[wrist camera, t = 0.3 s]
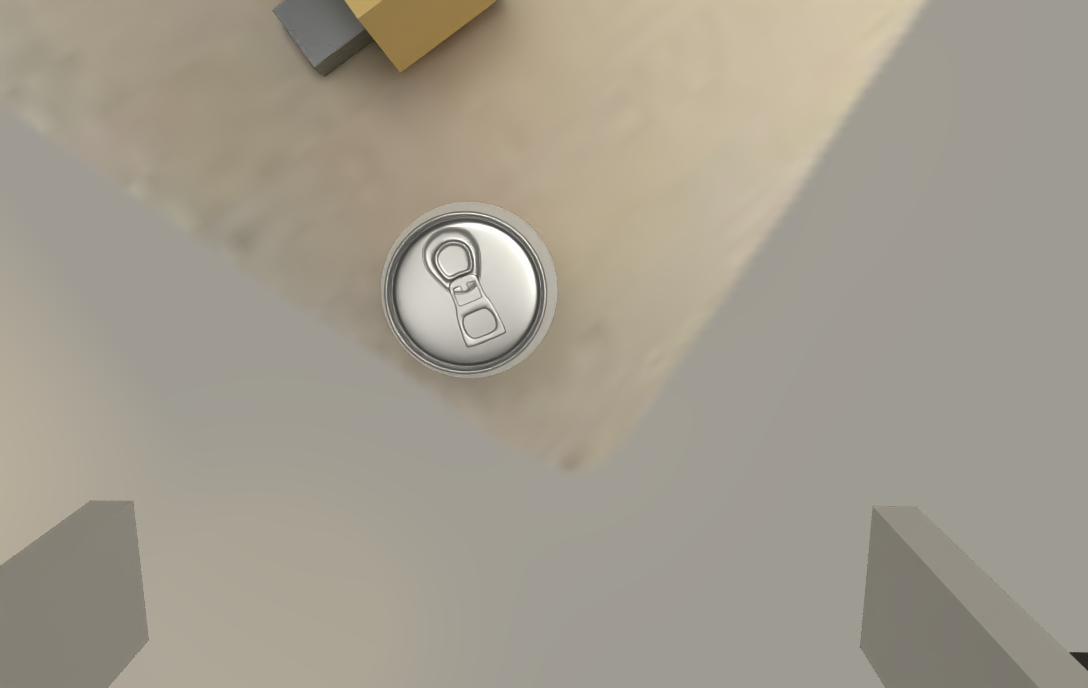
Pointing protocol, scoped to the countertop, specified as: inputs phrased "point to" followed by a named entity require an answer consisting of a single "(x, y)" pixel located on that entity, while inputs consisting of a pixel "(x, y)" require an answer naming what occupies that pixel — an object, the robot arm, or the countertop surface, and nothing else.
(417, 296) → the can
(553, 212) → the countertop surface
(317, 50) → the rail
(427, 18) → the carriage
